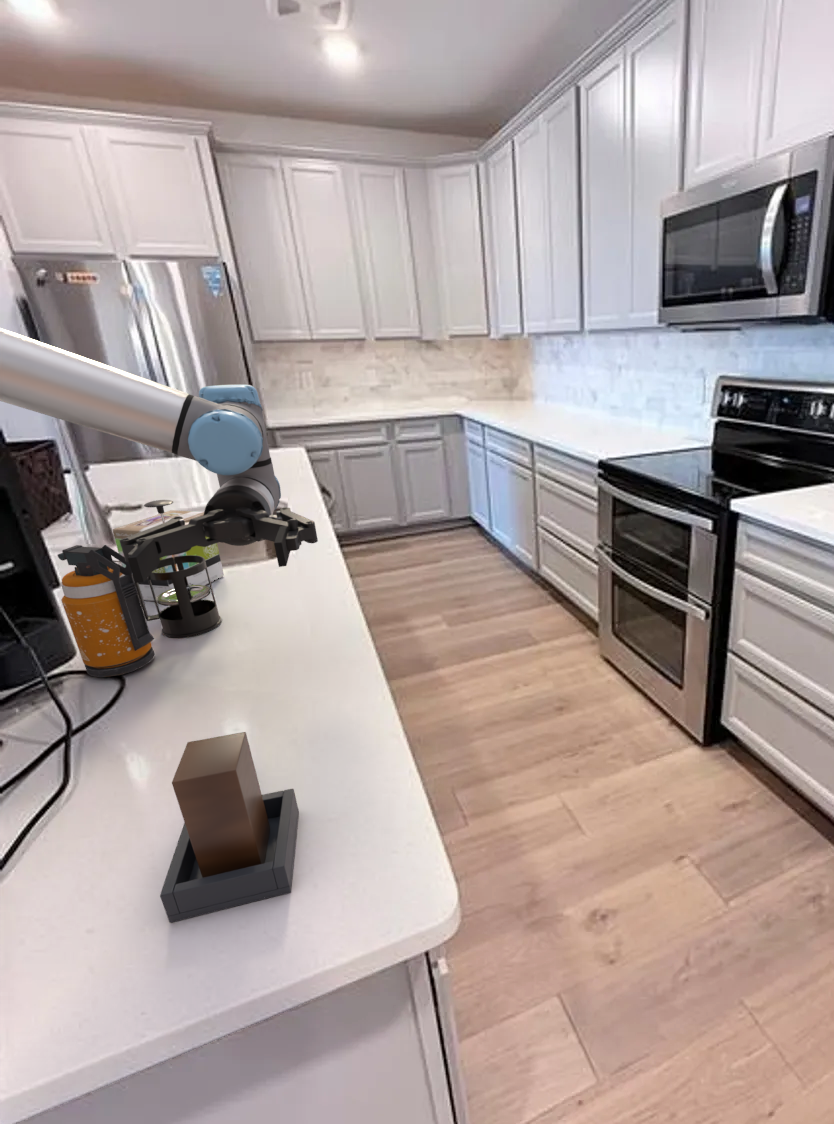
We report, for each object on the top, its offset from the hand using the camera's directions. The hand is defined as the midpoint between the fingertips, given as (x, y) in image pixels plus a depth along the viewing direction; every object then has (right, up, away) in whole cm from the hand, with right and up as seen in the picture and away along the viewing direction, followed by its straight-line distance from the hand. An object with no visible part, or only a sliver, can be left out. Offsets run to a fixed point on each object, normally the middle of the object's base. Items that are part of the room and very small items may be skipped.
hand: (210, 562), depth 64 cm
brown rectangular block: (+5, -29, -4) cm, 30 cm away
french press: (-30, -10, +46) cm, 56 cm away
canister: (-32, -15, +33) cm, 48 cm away
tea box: (-43, -3, +64) cm, 77 cm away
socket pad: (+5, -30, -4) cm, 30 cm away
